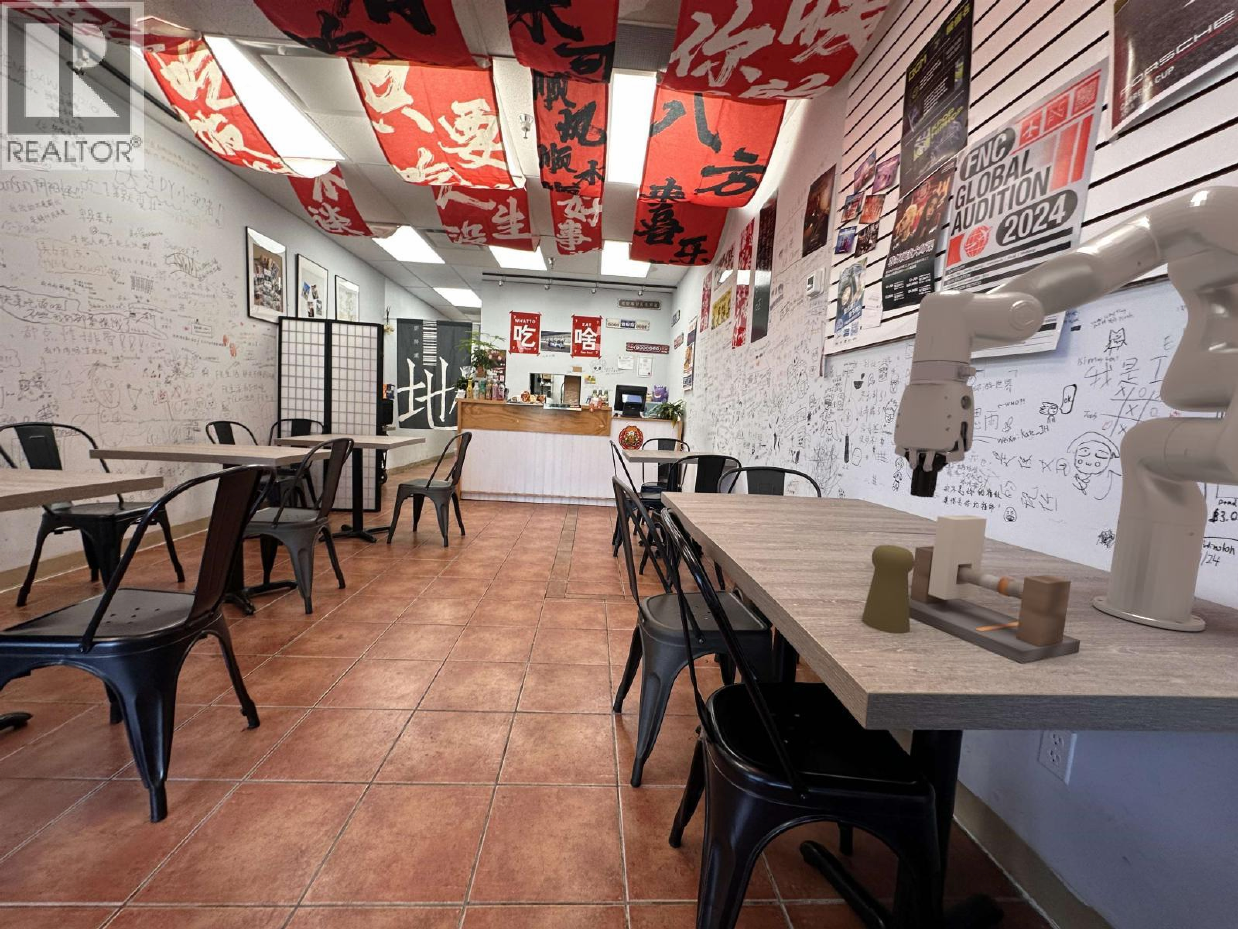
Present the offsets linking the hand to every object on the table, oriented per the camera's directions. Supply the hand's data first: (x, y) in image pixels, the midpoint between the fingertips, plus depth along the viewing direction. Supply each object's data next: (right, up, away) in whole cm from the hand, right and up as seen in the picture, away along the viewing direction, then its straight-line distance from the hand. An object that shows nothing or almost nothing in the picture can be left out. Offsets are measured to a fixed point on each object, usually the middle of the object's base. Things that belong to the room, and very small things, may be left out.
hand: (921, 496), depth 81 cm
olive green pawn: (-10, -18, -8) cm, 22 cm away
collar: (+2, -14, -4) cm, 15 cm away
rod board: (+3, -18, -8) cm, 20 cm away
